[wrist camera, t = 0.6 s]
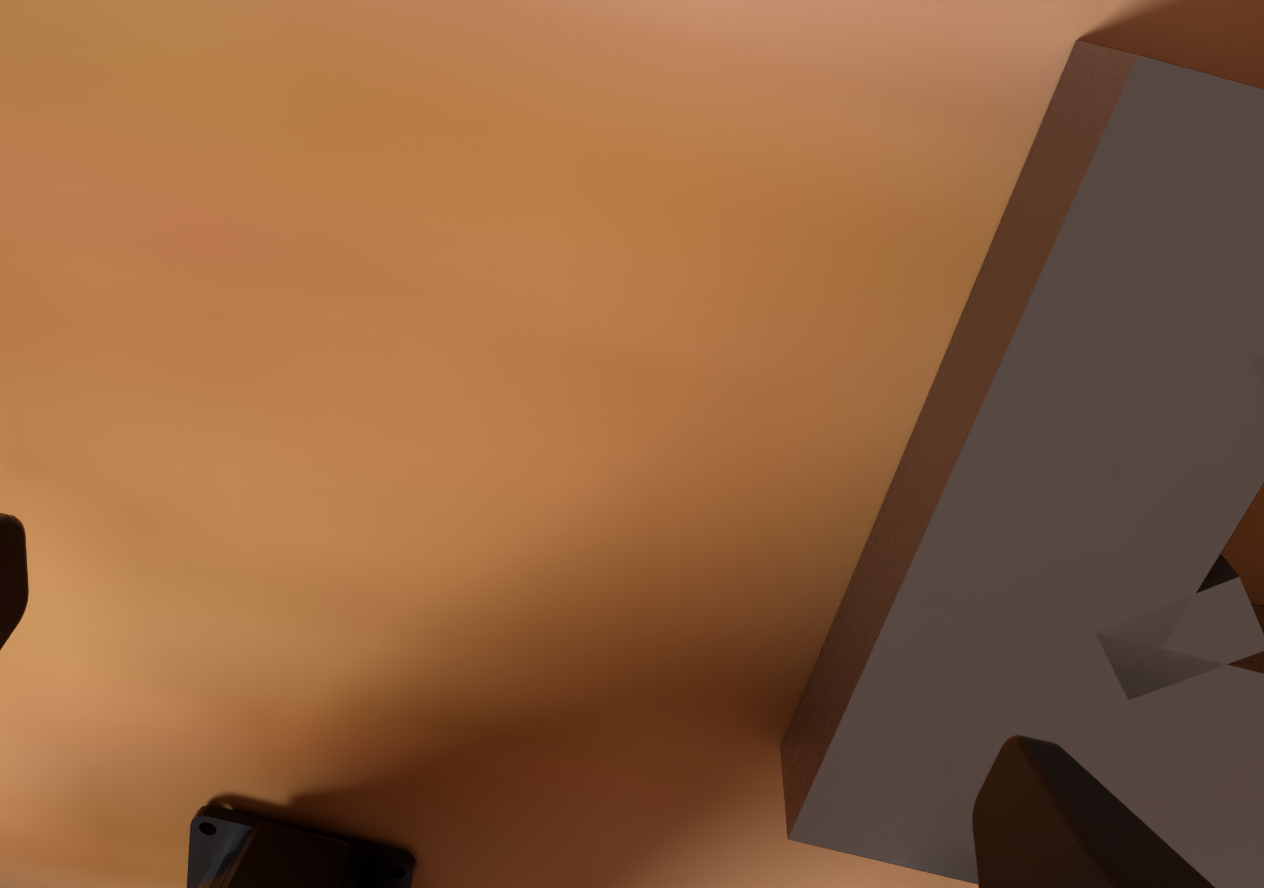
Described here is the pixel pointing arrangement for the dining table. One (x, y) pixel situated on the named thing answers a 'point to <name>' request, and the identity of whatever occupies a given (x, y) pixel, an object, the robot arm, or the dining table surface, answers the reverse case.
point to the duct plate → (1072, 503)
